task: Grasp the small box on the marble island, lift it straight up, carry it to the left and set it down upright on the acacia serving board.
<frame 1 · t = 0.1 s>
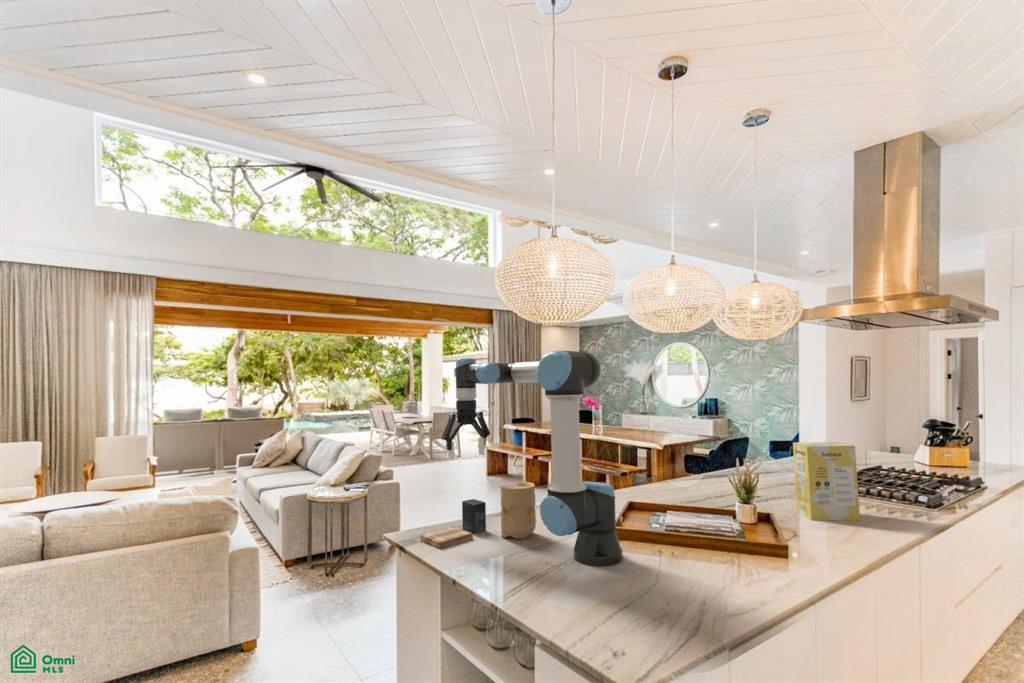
hand: (466, 457, 187), 28 cm above the worktop, fingers open, 13 cm apart
container: (518, 536, 182), on the worktop
board: (446, 539, 178), on the worktop
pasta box: (827, 516, 198), on the worktop
box: (474, 530, 189), on the worktop
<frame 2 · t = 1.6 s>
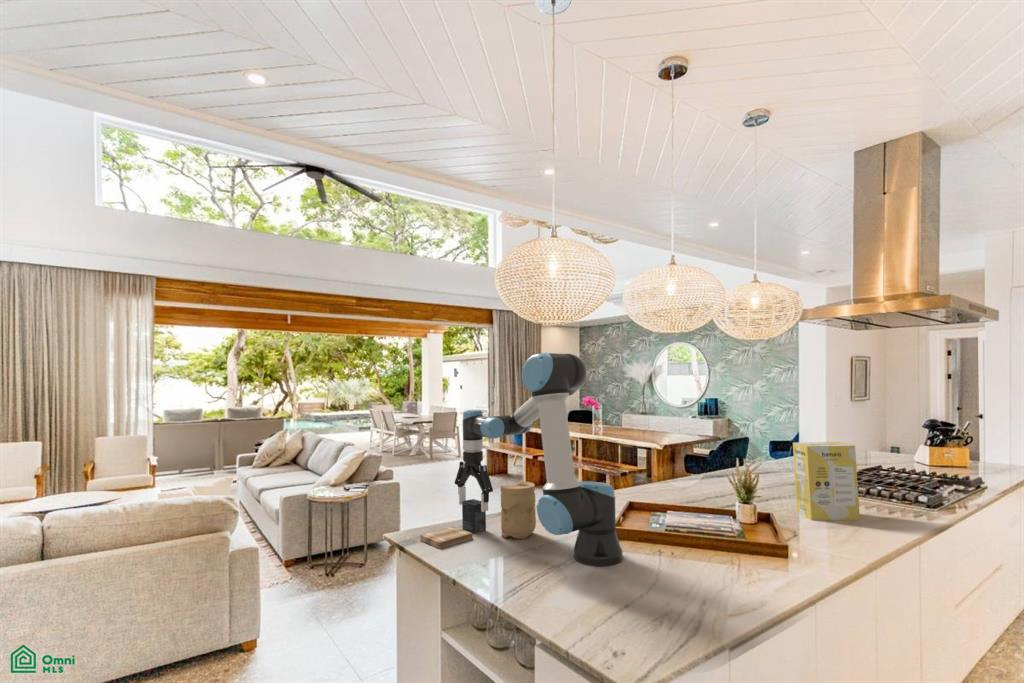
hand: (473, 507, 190), 8 cm above the worktop, fingers open, 13 cm apart
nothing on the worktop moved.
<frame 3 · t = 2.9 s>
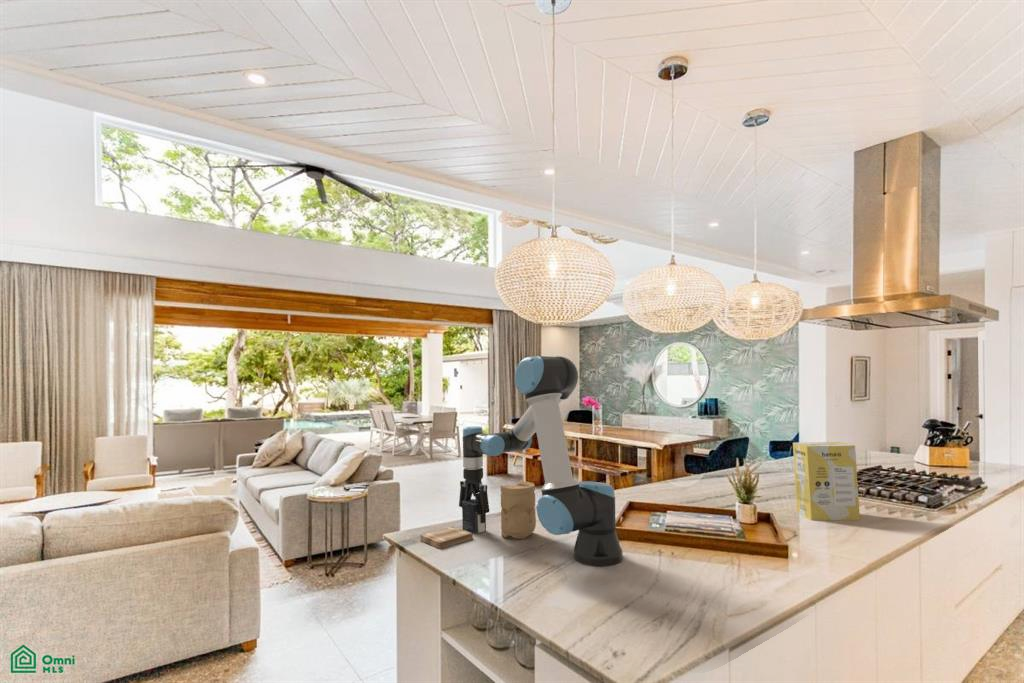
hand: (474, 529, 189), 0 cm above the worktop, fingers closed on box, 8 cm apart
box: (474, 530, 189), on the worktop, touching gripper
everything else where it was.
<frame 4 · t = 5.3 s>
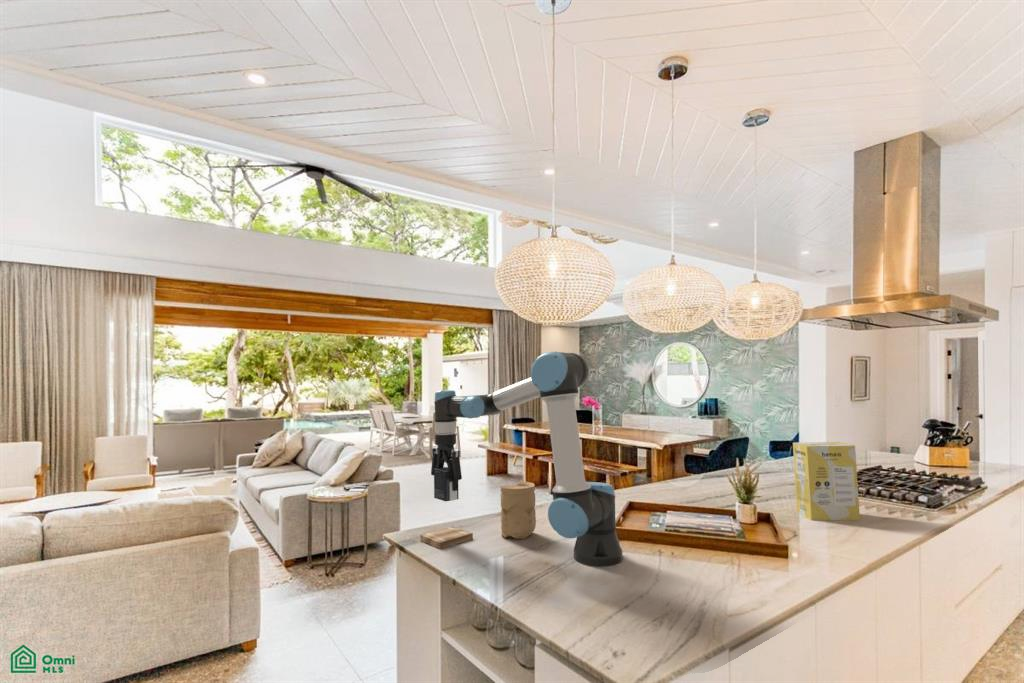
hand: (446, 497, 179), 15 cm above the worktop, fingers closed on box, 8 cm apart
box: (446, 499, 179), point 14 cm above the worktop, touching gripper
everything else where it was.
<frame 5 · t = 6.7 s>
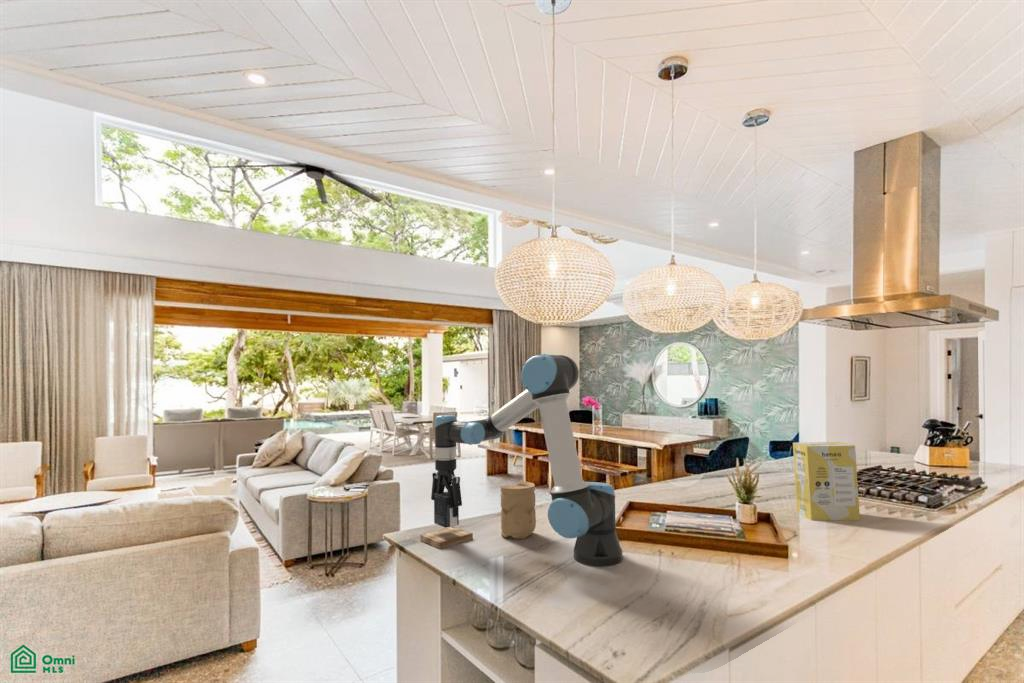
hand: (446, 523, 179), 6 cm above the worktop, fingers closed on box, 8 cm apart
box: (446, 524, 179), point 5 cm above the worktop, touching gripper
everything else where it was.
when the fingers open (4 cm above the worktop, at t = 7.6 s): box drops 1 cm, resting on board.
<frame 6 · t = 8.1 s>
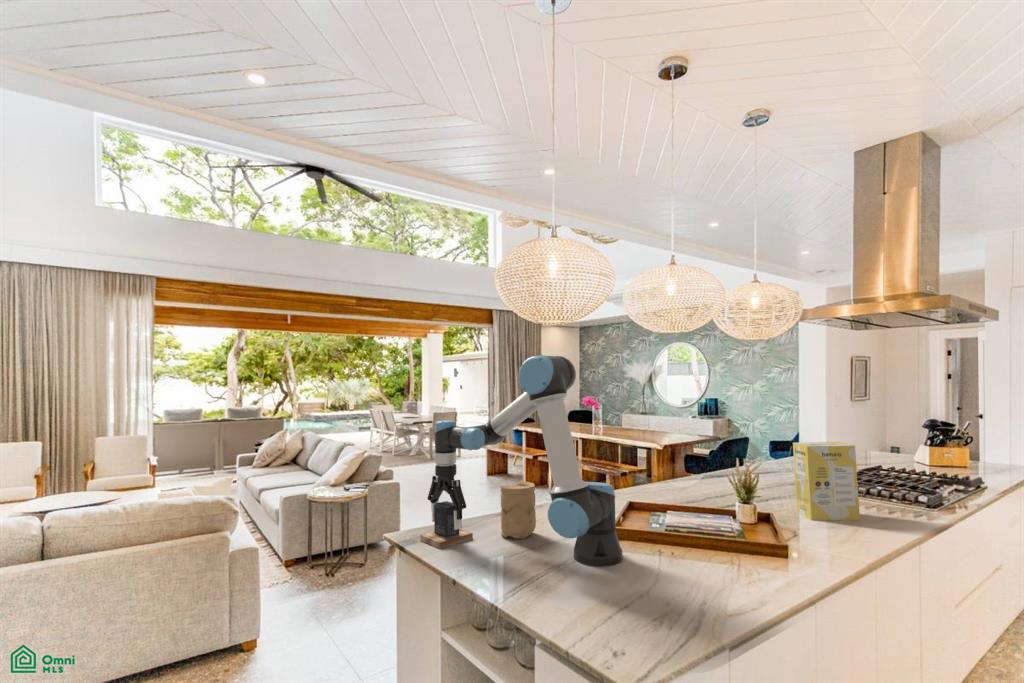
hand: (446, 524, 179), 5 cm above the worktop, fingers open, 13 cm apart
box: (446, 534, 178), point 2 cm above the worktop, touching board
everything else where it was.
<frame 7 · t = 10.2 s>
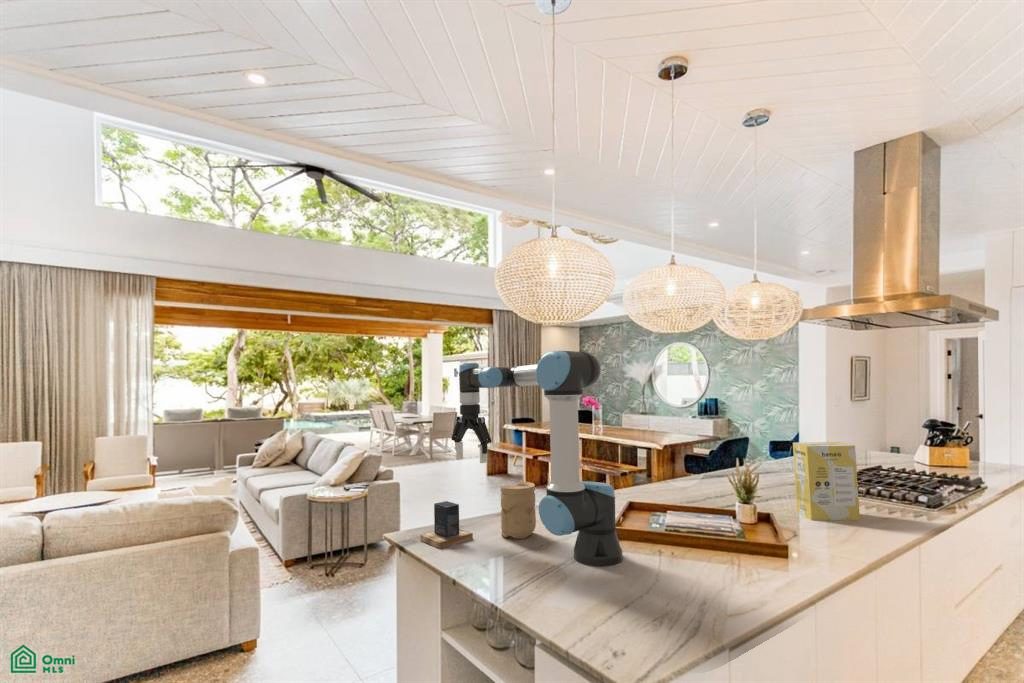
hand: (471, 461, 188), 26 cm above the worktop, fingers open, 13 cm apart
nothing on the worktop moved.
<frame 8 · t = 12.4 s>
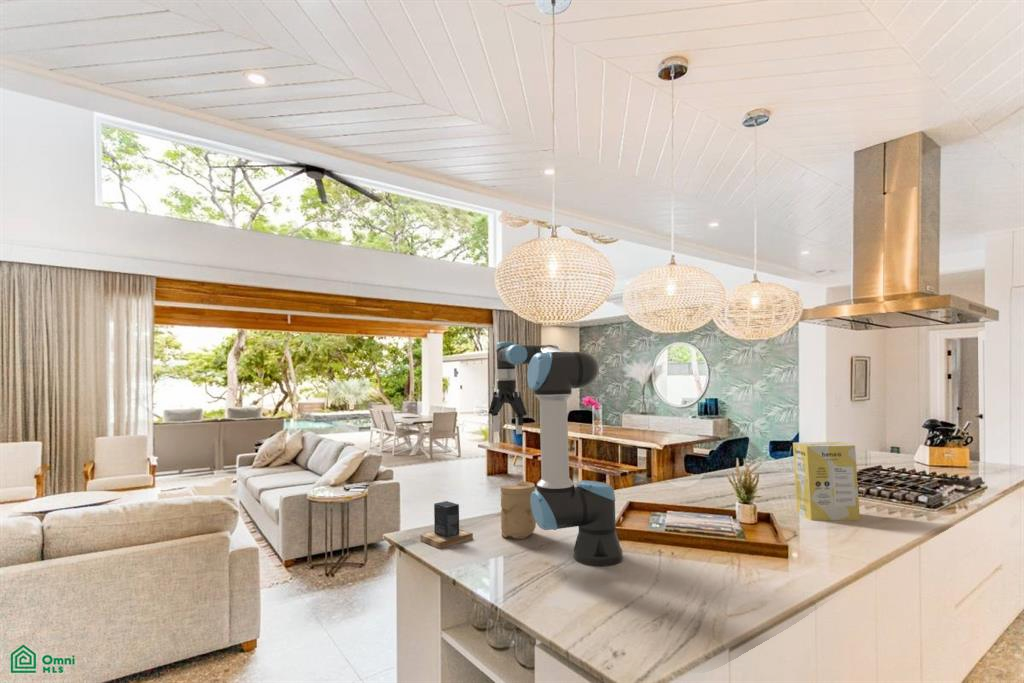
hand: (507, 432, 202), 35 cm above the worktop, fingers open, 13 cm apart
nothing on the worktop moved.
at the end: box inside the target area on the board (0.0 cm from its centre), point 1.8 cm above the board's base; box tilted 0°; the gripper is holding nothing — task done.
